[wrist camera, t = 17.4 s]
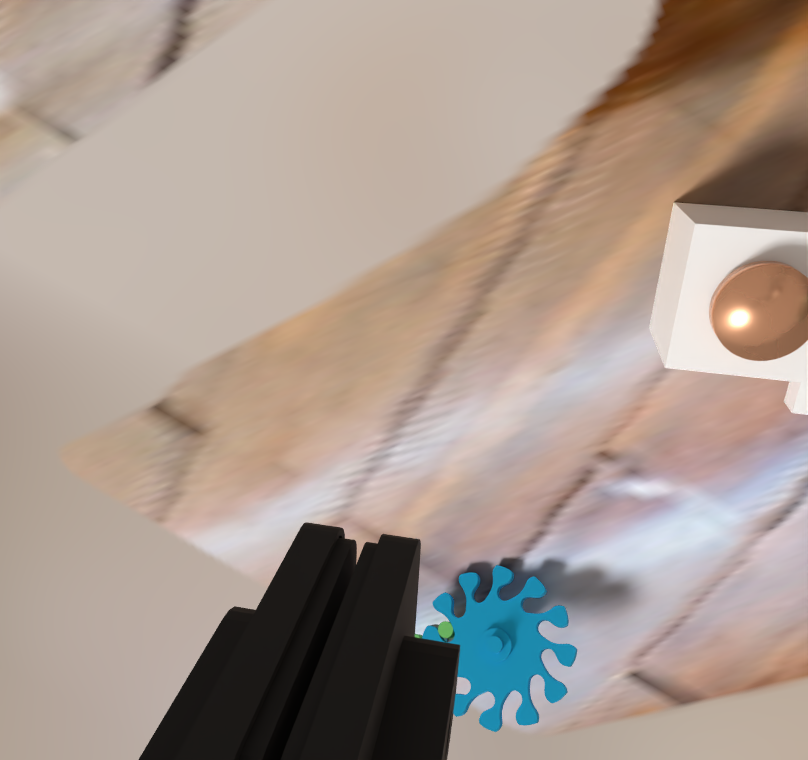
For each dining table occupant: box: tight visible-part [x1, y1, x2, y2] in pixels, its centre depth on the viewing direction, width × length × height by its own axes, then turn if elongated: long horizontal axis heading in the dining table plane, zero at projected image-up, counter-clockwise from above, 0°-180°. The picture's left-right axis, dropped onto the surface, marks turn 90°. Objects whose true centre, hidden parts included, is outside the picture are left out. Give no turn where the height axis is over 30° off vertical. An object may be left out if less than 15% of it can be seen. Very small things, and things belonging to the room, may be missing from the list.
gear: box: [415, 565, 577, 732], centre depth 48 cm, size 11×6×10 cm
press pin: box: [709, 261, 808, 361], centre depth 34 cm, size 4×4×6 cm
